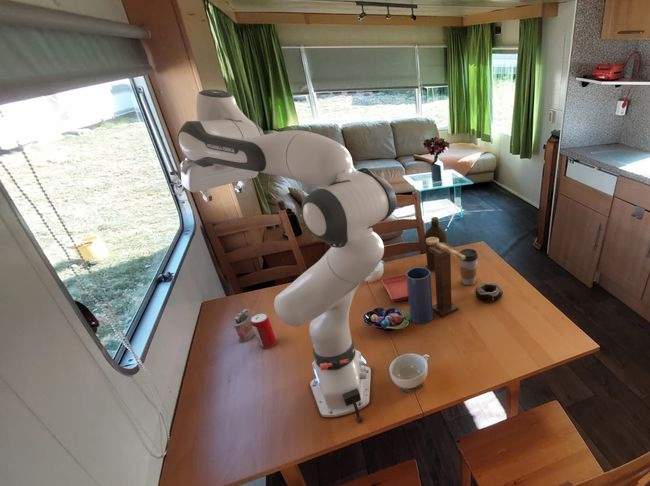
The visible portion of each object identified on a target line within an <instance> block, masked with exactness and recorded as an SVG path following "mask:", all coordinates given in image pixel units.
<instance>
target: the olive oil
mask: <svg viewBox="0 0 650 486" xmlns="http://www.w3.org/2000/svg"><path fill="white" fill-rule="evenodd" d="M430 219H431V221H430V224H431V226H430V227H429V228H428V229H427V230H426V231H425V233H424V235H423V236H424V238H423V239H424V246H425V256H426V266H427V267H426V268H427V269H428V270H429V271H434V272H435V264H434V254H433V253H432V252H430V251H429V247H431V246H434V245H427V244H426V239H427V238H429V237H437V238H438V239H439V242H440V243H442V242H444V243H446V244H448V235H447V232H446V231H445V230H444V229H443V228H442V227H441V226H440V225H439V223H440V222H439V217H437V216H433V217H431V218H430Z"/></svg>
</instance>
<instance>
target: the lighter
mask: <svg viewBox="0 0 650 486" xmlns="http://www.w3.org/2000/svg"><path fill="white" fill-rule="evenodd" d="M253 316H254V315H253V313H252V312H250V310H249V309H248V308H245V309H243V310H242V311H241V312H240V313H239V312H238V313H237V315H236V316H235V317H234V323H233V324H232V325H233V327H234V328H235V331H236V334H237V336H238V339H239V342H241V343H245V342H247V341H248V340H250V339H251V338H253V337H254V336H255V335H256V334H255V332H254V329H253V327H252V323H251V319H252V317H253Z"/></svg>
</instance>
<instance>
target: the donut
mask: <svg viewBox="0 0 650 486" xmlns="http://www.w3.org/2000/svg"><path fill="white" fill-rule="evenodd" d="M474 292H475V296H476V298H477V299H479V300H480V301H482V302H486V303H487V302H488V303H492V302H496V301H498V300H500V299H501V298H502V297H503V293H504V292H503V288H502V287H501V286H500V285H499V284H497V283H494V282H483V283H481V284H478V286H477V287H476V288H475V290H474Z"/></svg>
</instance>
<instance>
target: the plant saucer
mask: <svg viewBox="0 0 650 486" xmlns="http://www.w3.org/2000/svg"><path fill="white" fill-rule="evenodd" d="M381 283H382V285H383V286H384V289H385V290H386V292H387V294H388V296H389V298H390V299H391V300H392V301H393V302H396V303H398V302H401V301H402V302H403V301H406V300H408V292H407V282H406V273H404V274H399V275H394V276H390V277H386V278H382V279H381ZM432 290H433V288H432V287H431V291H432Z"/></svg>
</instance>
